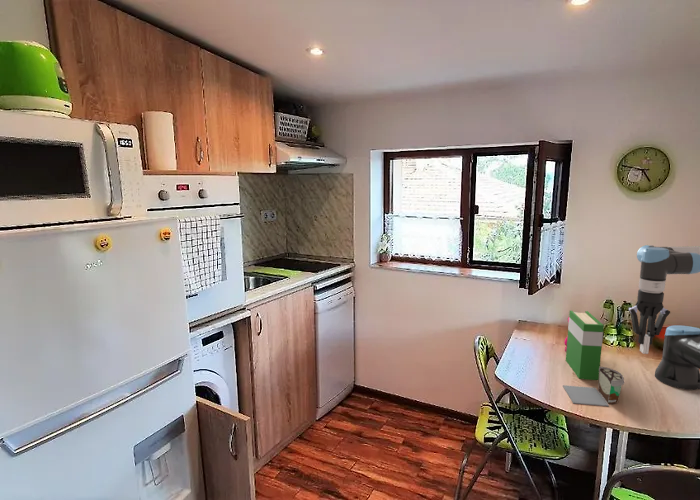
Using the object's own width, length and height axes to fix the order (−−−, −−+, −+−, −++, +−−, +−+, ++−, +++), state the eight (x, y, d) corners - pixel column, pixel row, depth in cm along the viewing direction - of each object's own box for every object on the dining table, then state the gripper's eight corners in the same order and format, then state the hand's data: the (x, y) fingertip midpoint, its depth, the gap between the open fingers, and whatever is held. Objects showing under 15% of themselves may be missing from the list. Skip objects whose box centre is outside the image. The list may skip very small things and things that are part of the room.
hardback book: (565, 360, 188) (569, 310, 184) (583, 361, 187) (587, 311, 183) (579, 378, 171) (583, 324, 167) (598, 380, 170) (603, 325, 166)
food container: (628, 407, 150) (631, 382, 148) (609, 406, 151) (612, 381, 149) (614, 390, 162) (616, 367, 160) (596, 389, 163) (599, 365, 161)
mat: (595, 388, 163) (595, 387, 163) (608, 406, 151) (608, 405, 151) (562, 386, 166) (562, 385, 166) (573, 403, 153) (573, 402, 153)
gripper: (635, 292, 145) (628, 355, 149) (678, 294, 142) (669, 357, 146) (626, 287, 152) (619, 346, 156) (666, 288, 149) (658, 349, 153)
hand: (643, 352), depth 151 cm, fingers closed
